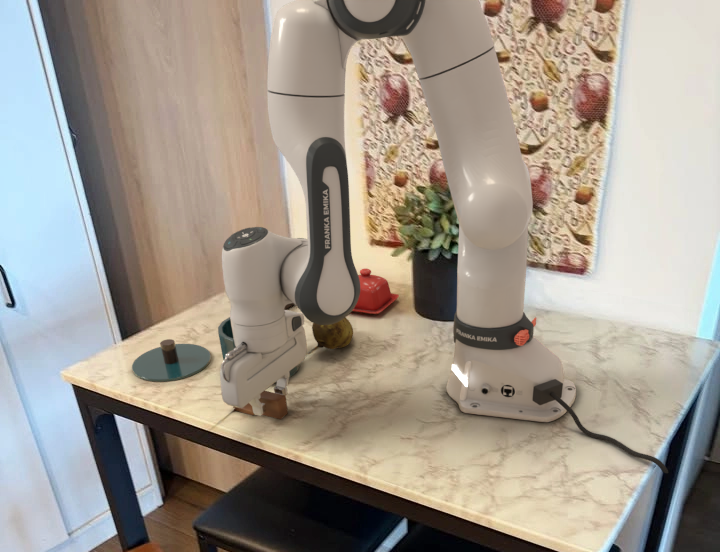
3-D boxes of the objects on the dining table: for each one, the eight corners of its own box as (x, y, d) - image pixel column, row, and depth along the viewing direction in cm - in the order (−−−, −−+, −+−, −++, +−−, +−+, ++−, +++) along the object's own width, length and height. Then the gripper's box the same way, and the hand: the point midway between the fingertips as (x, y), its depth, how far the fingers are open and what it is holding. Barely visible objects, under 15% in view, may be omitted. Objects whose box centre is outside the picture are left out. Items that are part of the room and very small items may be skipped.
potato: (369, 337, 155) (367, 300, 150) (336, 364, 146) (333, 325, 142) (335, 330, 159) (332, 294, 154) (301, 356, 150) (296, 318, 145)
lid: (227, 356, 152) (222, 333, 149) (176, 390, 141) (170, 366, 138) (169, 343, 159) (164, 320, 156) (116, 375, 148) (110, 351, 145)
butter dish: (356, 293, 174) (353, 257, 169) (401, 300, 170) (400, 263, 165) (332, 312, 166) (328, 275, 161) (379, 320, 161) (377, 282, 157)
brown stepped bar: (290, 411, 133) (288, 393, 131) (277, 422, 130) (275, 403, 128) (247, 400, 137) (244, 382, 135) (233, 410, 134) (230, 392, 132)
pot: (314, 358, 149) (309, 315, 143) (271, 392, 139) (265, 347, 133) (255, 346, 155) (248, 304, 150) (210, 377, 145) (201, 334, 140)
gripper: (236, 362, 115) (249, 438, 123) (309, 311, 129) (317, 382, 137) (204, 354, 118) (219, 429, 126) (279, 305, 132) (288, 375, 140)
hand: (270, 404), depth 132 cm, fingers open, 5 cm apart
